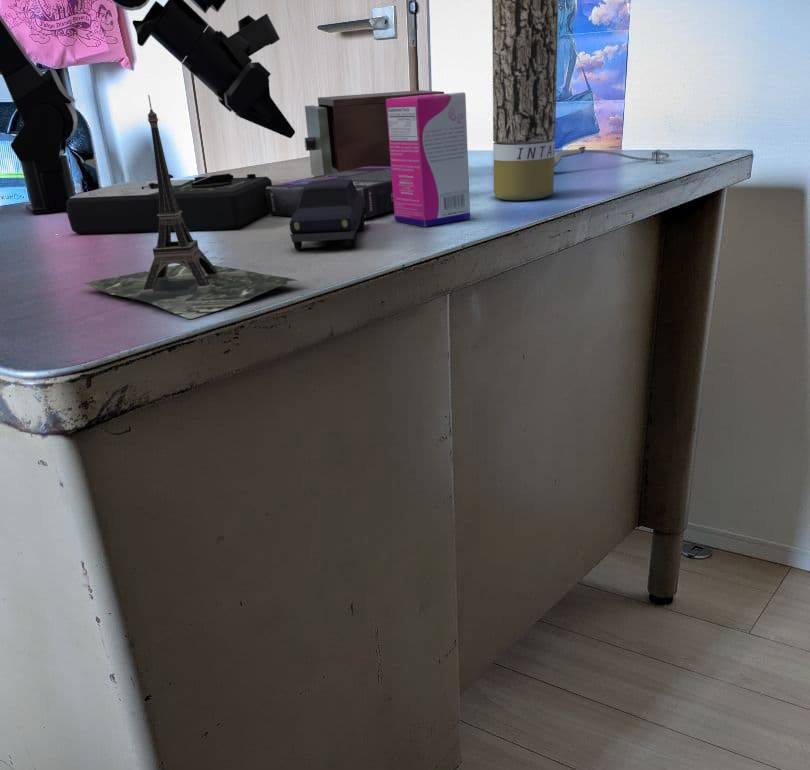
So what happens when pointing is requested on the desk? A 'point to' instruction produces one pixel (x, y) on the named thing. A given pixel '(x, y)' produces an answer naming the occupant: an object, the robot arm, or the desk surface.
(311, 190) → the toy car
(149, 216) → the multimeter
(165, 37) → the robot arm
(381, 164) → the cabinet
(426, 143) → the supplement box
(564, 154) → the thin grey pronged rod
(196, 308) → the eiffel tower figurine
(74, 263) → the desk surface
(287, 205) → the box
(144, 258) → the desk surface
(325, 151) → the drawer
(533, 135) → the paper tube
